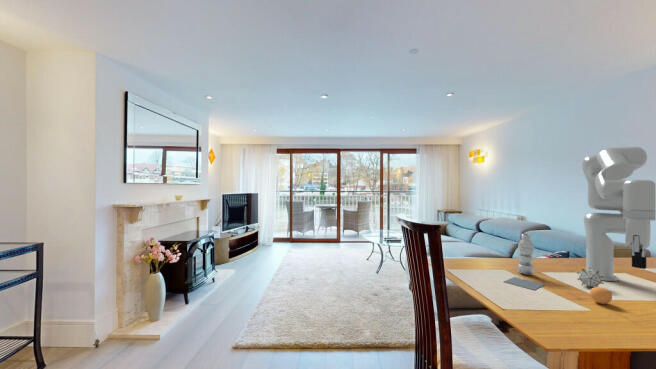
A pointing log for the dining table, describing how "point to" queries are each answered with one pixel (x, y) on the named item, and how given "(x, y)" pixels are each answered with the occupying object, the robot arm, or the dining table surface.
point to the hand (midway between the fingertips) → (638, 267)
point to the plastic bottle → (525, 255)
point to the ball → (600, 295)
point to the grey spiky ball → (590, 278)
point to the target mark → (524, 283)
